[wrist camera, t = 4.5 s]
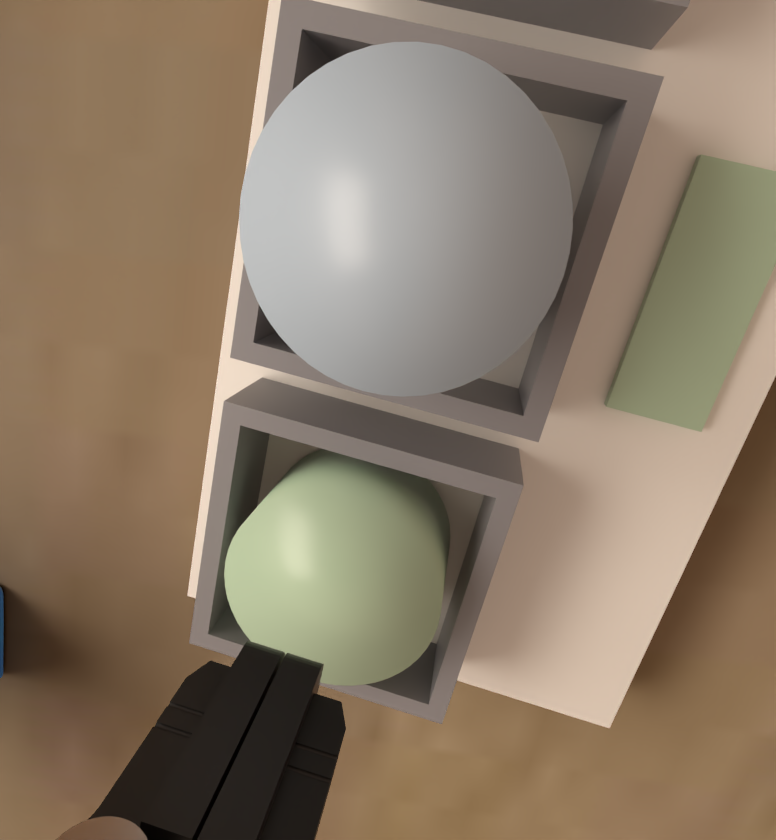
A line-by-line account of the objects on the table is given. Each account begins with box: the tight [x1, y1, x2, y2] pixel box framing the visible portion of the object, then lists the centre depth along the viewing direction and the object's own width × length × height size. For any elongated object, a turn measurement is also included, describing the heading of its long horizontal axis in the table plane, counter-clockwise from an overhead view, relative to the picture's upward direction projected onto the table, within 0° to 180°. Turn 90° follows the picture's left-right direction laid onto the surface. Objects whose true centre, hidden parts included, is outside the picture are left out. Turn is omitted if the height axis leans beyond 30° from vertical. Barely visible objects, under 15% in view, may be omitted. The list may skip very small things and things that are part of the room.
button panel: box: [187, 0, 776, 728], centre depth 14 cm, size 26×14×4 cm, turn 167°
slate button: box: [239, 42, 573, 397], centre depth 11 cm, size 5×5×3 cm
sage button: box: [224, 449, 450, 686], centre depth 16 cm, size 5×5×3 cm
